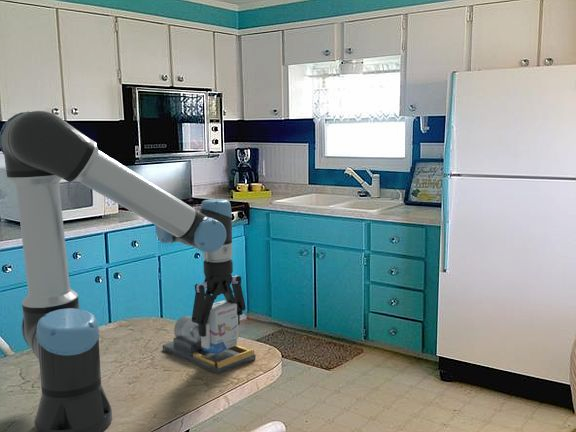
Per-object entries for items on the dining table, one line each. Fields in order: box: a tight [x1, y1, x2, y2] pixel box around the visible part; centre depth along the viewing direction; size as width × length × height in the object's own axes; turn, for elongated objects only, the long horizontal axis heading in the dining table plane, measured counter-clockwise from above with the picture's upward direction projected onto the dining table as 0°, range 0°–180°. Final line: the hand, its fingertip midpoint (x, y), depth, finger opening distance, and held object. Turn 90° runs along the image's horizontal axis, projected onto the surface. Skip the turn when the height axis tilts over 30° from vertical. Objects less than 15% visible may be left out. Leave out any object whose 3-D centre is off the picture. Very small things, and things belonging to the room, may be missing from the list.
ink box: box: [203, 299, 238, 354], centre depth 156 cm, size 9×5×12 cm, turn 143°
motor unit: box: [162, 315, 257, 375], centre depth 161 cm, size 13×24×8 cm, turn 46°
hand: (220, 342), depth 157 cm, fingers closed on ink box, 9 cm apart
